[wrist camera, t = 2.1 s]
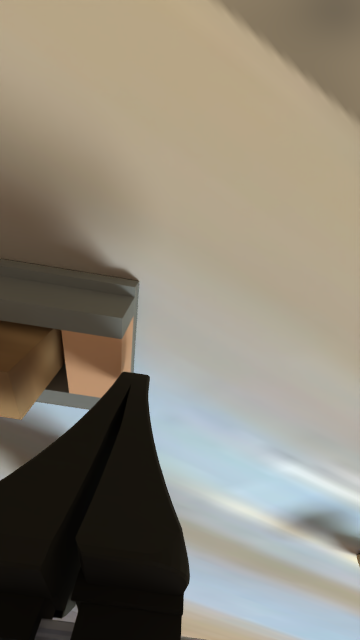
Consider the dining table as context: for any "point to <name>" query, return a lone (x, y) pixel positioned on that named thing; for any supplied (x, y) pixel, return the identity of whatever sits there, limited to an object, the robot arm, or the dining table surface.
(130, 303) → the rail
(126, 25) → the dining table surface
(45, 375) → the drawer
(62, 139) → the dining table surface
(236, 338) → the dining table surface
